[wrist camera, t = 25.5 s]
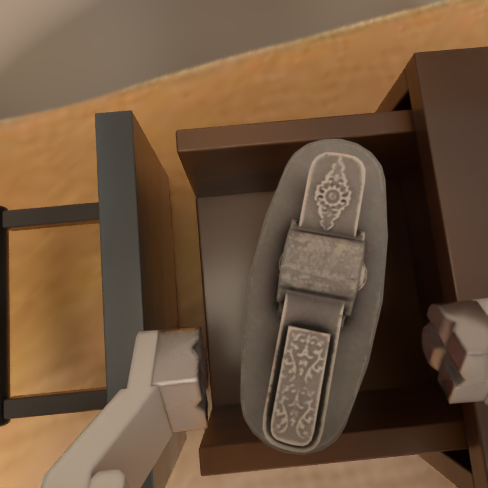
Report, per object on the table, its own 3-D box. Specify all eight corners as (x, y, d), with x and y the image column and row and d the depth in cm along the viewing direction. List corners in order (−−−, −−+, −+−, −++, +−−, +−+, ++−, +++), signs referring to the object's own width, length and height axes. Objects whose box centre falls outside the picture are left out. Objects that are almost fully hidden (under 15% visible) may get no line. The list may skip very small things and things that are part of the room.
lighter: (288, 200, 19) (270, 81, 9) (366, 213, 18) (435, 100, 9) (253, 385, 18) (190, 472, 8) (334, 404, 17) (372, 523, 8)
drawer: (45, 453, 18) (-68, 535, 12) (39, 187, 20) (-61, 126, 14) (444, 413, 19) (556, 470, 12) (403, 155, 21) (480, 79, 14)
